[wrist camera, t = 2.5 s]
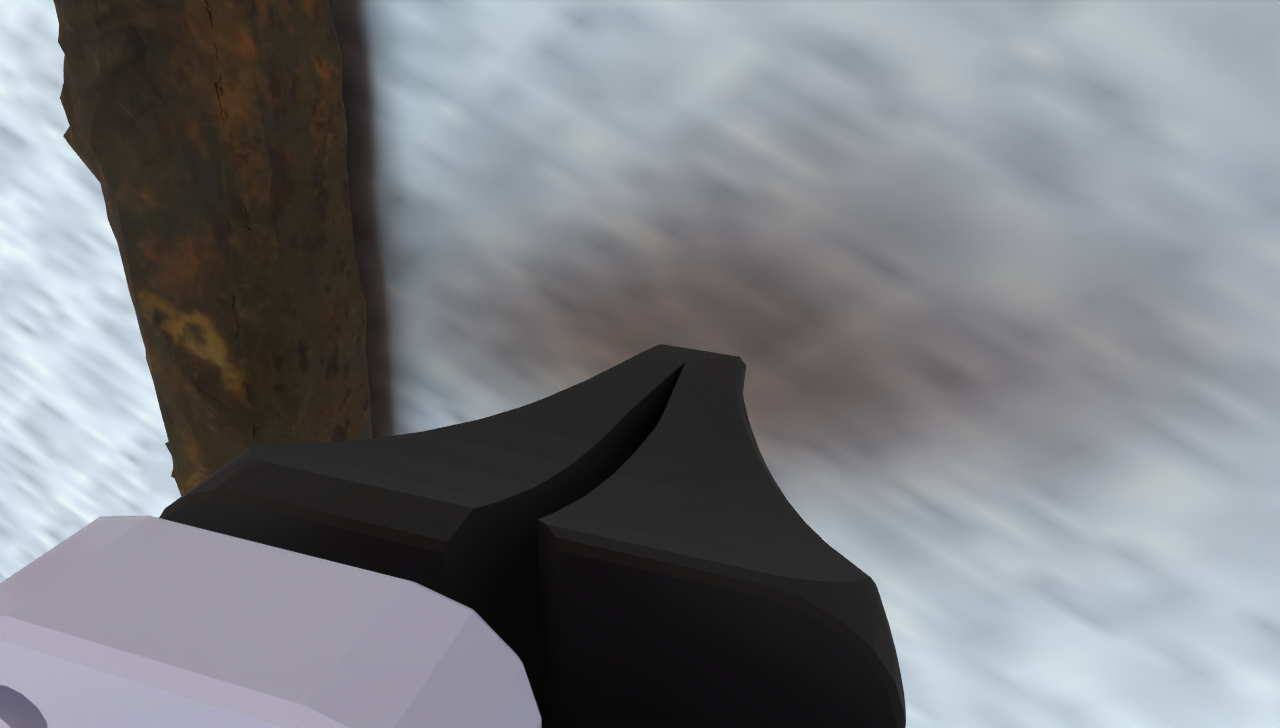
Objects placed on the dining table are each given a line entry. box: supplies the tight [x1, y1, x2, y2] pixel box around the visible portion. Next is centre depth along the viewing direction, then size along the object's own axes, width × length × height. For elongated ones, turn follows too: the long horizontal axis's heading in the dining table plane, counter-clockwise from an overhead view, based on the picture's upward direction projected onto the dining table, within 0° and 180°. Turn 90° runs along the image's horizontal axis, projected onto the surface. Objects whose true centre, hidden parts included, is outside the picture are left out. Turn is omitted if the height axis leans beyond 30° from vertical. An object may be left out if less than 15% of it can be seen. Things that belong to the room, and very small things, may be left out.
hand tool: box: [54, 0, 373, 496], centre depth 13 cm, size 19×4×5 cm, turn 175°
